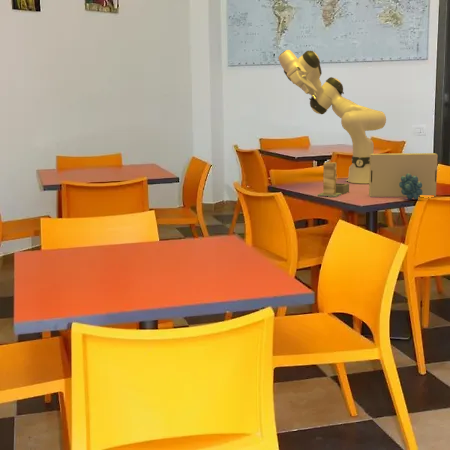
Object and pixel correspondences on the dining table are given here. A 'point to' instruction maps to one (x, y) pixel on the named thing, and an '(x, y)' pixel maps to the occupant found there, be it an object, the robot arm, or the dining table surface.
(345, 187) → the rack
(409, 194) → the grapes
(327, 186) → the block
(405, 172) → the packaging
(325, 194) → the mat
